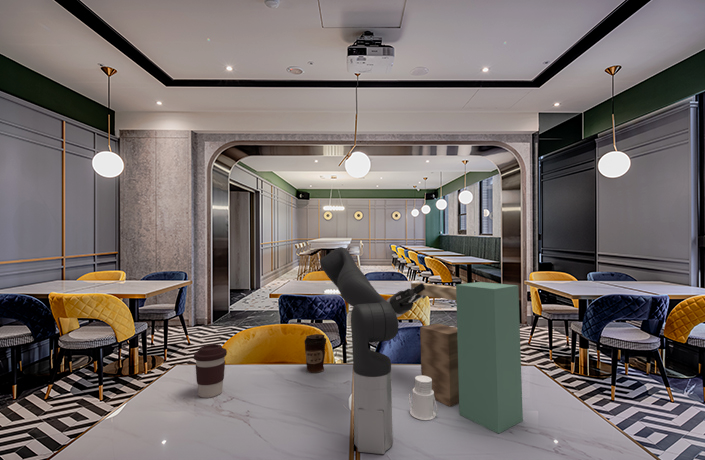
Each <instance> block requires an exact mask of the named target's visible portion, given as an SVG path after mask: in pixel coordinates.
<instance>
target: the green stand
mask: <svg viewBox="0 0 705 460" xmlns="http://www.w3.org/2000/svg"><path fill="white" fill-rule="evenodd" d="M455 287H456V301H455V303H456V328H457V340H458V377H459V404H458V407H459V408H458V409H459V413H458V414H459V415H460V416H461V417H464V418H466V419H467V420H470V421H472V422H473V423H475V424H478V425H480V426H482V427H484V428H486V429H488V430H490V431H492V432H494V433H497V434H501V433H503V432H505V431H507V430H508V429H510V428H513V427H514V426H515V425H517V424H519V423H521V422H523V421H524V413H523V412H524V411H523V385H522V384H523V381H522V356H521V354H522V351H521V327H520V325H521V324H520V323H521V322H520V321H521V320H520V297H519V295H520V293H519V285H516V284H506V283H495V282H494V283H493V282H485V281H476V282H468V283H460V284H455Z"/></svg>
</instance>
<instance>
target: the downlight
mask: <svg viewBox="0 0 705 460" xmlns="http://www.w3.org/2000/svg"><path fill="white" fill-rule="evenodd" d="M411 400H412V402H411ZM408 401H409V405H410V411H409V414H410V415H411V416H412V417H413V418H414V419H417V420H421V421H432V420H434V419H435V418H436V415H437V414H438V406H437V400H435V397H434V391H433V390H432V379H431V378H430V377H428V376H422V375H421V374H420V375H416V376H415V377H414V387H413V388H412V399H411V393H409V394H408ZM434 405H435V409H436V411H434Z"/></svg>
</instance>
